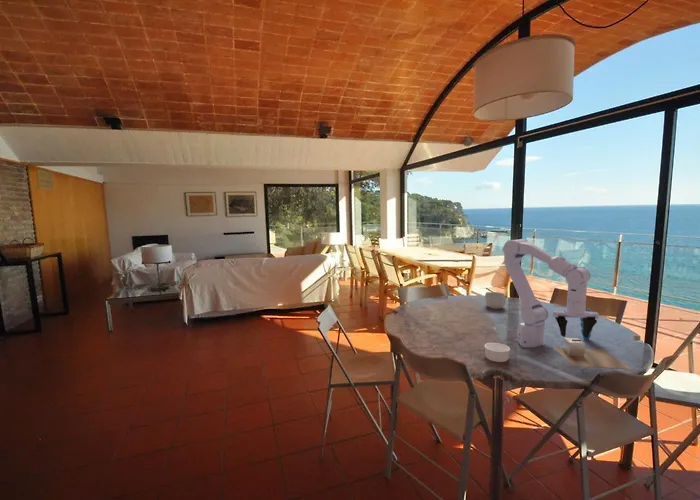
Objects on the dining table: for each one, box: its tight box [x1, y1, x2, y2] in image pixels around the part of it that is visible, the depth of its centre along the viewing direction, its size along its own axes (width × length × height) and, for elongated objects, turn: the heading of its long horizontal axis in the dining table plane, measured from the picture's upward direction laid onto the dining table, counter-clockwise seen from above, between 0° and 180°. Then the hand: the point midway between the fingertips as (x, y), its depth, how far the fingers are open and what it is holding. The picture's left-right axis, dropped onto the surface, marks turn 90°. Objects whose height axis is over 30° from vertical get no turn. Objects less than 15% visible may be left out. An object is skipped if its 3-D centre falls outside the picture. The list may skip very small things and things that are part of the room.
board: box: [553, 347, 632, 370], centre depth 122 cm, size 18×16×6 cm
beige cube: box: [562, 337, 586, 357], centre depth 126 cm, size 5×5×5 cm
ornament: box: [579, 308, 594, 341], centre depth 139 cm, size 5×5×15 cm
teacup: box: [484, 291, 507, 310], centre depth 193 cm, size 14×11×8 cm
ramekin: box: [483, 342, 511, 363], centre depth 127 cm, size 9×9×4 cm
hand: (574, 336), depth 125 cm, fingers open, 7 cm apart
